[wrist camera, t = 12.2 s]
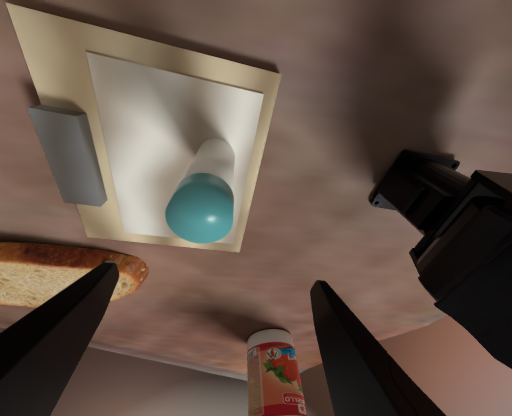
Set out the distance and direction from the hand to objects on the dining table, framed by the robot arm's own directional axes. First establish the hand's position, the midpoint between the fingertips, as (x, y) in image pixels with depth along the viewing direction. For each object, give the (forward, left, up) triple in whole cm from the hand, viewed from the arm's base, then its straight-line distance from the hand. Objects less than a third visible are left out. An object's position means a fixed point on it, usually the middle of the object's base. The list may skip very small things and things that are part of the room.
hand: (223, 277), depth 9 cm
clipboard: (+6, +1, -13) cm, 14 cm away
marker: (+2, -1, -12) cm, 12 cm away
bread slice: (+20, +18, -13) cm, 30 cm away
